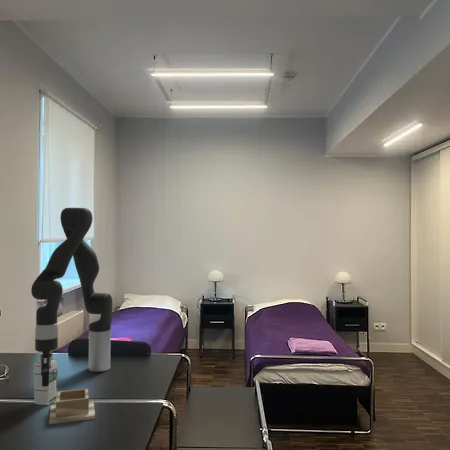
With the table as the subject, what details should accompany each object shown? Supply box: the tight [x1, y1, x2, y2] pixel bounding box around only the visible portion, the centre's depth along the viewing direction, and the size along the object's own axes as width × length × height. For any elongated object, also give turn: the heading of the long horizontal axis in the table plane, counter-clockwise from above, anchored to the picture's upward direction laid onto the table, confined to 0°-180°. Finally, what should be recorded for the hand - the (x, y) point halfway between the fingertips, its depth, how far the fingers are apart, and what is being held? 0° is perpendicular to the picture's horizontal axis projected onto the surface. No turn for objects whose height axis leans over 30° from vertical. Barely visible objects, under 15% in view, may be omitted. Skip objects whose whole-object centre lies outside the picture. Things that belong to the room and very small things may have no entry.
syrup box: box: [33, 358, 59, 406], centre depth 158 cm, size 6×6×14 cm
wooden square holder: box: [48, 387, 96, 425], centre depth 149 cm, size 14×14×6 cm
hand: (46, 382), depth 158 cm, fingers closed on syrup box, 7 cm apart
